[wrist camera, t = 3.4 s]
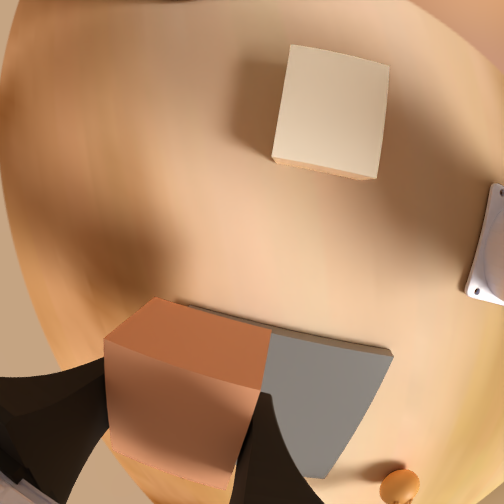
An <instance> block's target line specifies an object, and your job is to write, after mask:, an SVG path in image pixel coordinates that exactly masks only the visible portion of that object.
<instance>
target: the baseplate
mask: <svg viewBox="0 0 504 504" xmlns="http://www.w3.org/2000/svg"><path fill="white" fill-rule="evenodd" d="M188 307H190V308H193V309H197V310H200V311H204V312H207V313H210V314H214V315H218V316H221V317H225V318H228V319H232V320H236V321H239V322H243V323H247V324H251V325H255V326H259V327H263V328H267V329H271V330H272V331H271V337H270V342H269V348H268V353H267V359H266V364H265V370H264V375H263V380H262V386H261V391H260V392H265V393H269V394H271V396H272V399H273V406H274V411H275V415H276V418H277V422H278V425H279V428H280V431H281V434H282V437H283V439H284V442H285V444H286V446H287V449H288V451H289V453H290V455H291V457H292V459H293V461H294V463H295V465H296V466H297V468H298V470H299V471H300V473H301V474H302V476H303V477H310V478H320V479H325V477H326V476H327V474H328V473H329V471H330V470H331V469H332V467H333V466H334V464H335V463H336V461H337V460H338V458H339V457H340V455H341V453H342V452H343V450H344V449H345V447H346V446H347V444H348V442H349V441H350V439H351V437H352V436H353V434H354V432H355V431H356V429H357V427H358V426H359V424H360V422H361V420H362V419H363V417H364V415H365V413H366V412H367V410H368V408H369V406H370V404H371V402H372V400H373V399H374V397H375V395H376V393H377V391H378V389H379V387H380V385H381V383H382V381H383V379H384V377H385V375H386V373H387V371H388V368H389V366H390V364H391V362H392V360H393V358H394V356H393V354H392V353H391V351H390V350H389V349H383V348H377V347H371V346H366V345H360V344H355V343H349V342H344V341H339V340H334V339H329V338H324V337H319V336H314V335H310V334H305V333H300V332H296V331H291V330H287V329H283V328H278V327H274V326H270V325H265V324H261V323H257V322H253V321H249V320H245V319H241V318H237V317H233V316H229V315H226V314H222V313H218V312H214V311H211V310H207V309H203V308H200V307H196V306H192V305H188ZM235 465H237V461H236V464H235Z"/></svg>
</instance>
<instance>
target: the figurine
mask: <svg viewBox="0 0 504 504" xmlns="http://www.w3.org/2000/svg"><path fill="white" fill-rule="evenodd" d="M419 486H420V482H419V478H418V476H417V475H416V474H415V473H414V472H412V471H410V470H405V469H403V470H397V471H394V472H392V473H390V474H389V475H388V476H387V477H386V478H385V479H384V480H383V482H382V483H381V486H380V496H381V498H382V500H383V501H384V502H385V503H387V504H411V502H412V500H413V498H414V497H415V495H416V494H417V492H418V490H419Z"/></svg>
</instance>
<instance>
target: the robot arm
mask: <svg viewBox="0 0 504 504" xmlns="http://www.w3.org/2000/svg"><path fill="white" fill-rule="evenodd" d="M500 190H501V191H502V195H500ZM476 289H477V292H476V293H475V294H474V292H475V290H476ZM465 294H466V295H467V296H468V297H471V298H475V299H479V300H483V301H487V302H491V303H495V304H499V305H503V306H504V186H503V185H501V184H499V183H493V184H492V185H491V187H490V192H489V198H488V203H487V208H486V213H485V218H484V222H483V227H482V231H481V235H480V239H479V243H478V247H477V250H476V254H475V257H474V261H473V264H472V268H471V271H470V274H469V277H468V280H467V283H466V286H465ZM108 428H109V420H108V410H107V399H106V386H105V369H104V357H103V358H100V359H98V360H95V361H93V362H90V363H87V364H84V365H81V366H78V367H75V368H72V369H69V370H66V371H62V372H58V373H53V374H48V375H41V376H32V377H17V378H16V377H13V378H12V377H10V378H9V377H0V504H66V502H67V500H68V497H69V495H70V493H71V490H72V488H73V486H74V484H75V482H76V480H77V478H78V476H79V474H80V472H81V470H82V468H83V466H84V464H85V463H86V461H87V459H88V457H89V456H90V454H91V452H92V450H93V449H94V447H95V446H96V444H97V443H98V441H99V440H100V438H101V437H102V436H103V435H104V433H105V432H106V431H107V430H108ZM229 504H324V503H323V501H322V500H321V499H320V498H319V497H318V496H317V495H316V493H315V492H314V491H313V490H312V488H311V487H310V486H309V484H308V483H307V482H306V480H305V479H304V477H303V476H302V474H301V473H300V471H299V470H298V468H297V466H296V465H295V463H294V461H293V459H292V457H291V455H290V453H289V451H288V449H287V446H286V444H285V442H284V439H283V437H282V434H281V431H280V428H279V425H278V422H277V418H276V415H275V411H274V406H273V399H272V396H271V394H269V393H265V392H260V394H259V397H258V400H257V403H256V406H255V409H254V412H253V415H252V418H251V421H250V424H249V427H248V430H247V433H246V435H245V438H244V441H243V444H242V447H241V450H240V453H239V455H238V458H237V465H236V472H235V479H234V486H233V491H232V495H231V499H230V503H229Z"/></svg>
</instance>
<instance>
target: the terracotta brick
mask: <svg viewBox="0 0 504 504" xmlns="http://www.w3.org/2000/svg"><path fill="white" fill-rule="evenodd" d="M271 331H272V330H271V329H267V328H263V327H259V326H255V325H251V324H247V323H243V322H239V321H236V320H232V319H228V318H225V317H221V316H218V315H214V314H210V313H207V312H204V311H200V310H197V309H193V308H190V307H187V306H183V305H180V304H177V303H173V302H170V301H167V300H164V299H161V298H157V297H154V298H153V299H151V300H150V301H149V302H148V303H146V304H145V305H144V306H143V307H141V308H140V309H139V310H138V311H137V312H135V313H134V314H133V315H132V316H130V317H129V318H128V319H127V320H125V321H124V322H123V323H122V324H121V325H119V326H118V327H117V328H116V329H115V330H113V331H112V332H111V333H110V334H108V335H107V336H106V337H105V338H104V369H105V386H106V399H107V410H108V420H109V428H110V436H111V443H112V450H113V451H116V452H118V453H120V454H122V455H124V456H127V457H129V458H131V459H133V460H136V461H138V462H140V463H143V464H145V465H148V466H150V467H153V468H156V469H158V470H161V471H164V472H166V473H169V474H172V475H175V476H178V477H181V478H184V479H187V480H190V481H193V482H197V483H200V484H203V485H207V486H210V487H214V488H218V489H222V490H226V488H227V485H228V483H229V480H230V477H231V475H232V472H233V469H234V466H235V464H236V461H237V458H238V455H239V453H240V450H241V447H242V444H243V441H244V438H245V435H246V433H247V430H248V427H249V424H250V421H251V418H252V415H253V412H254V409H255V406H256V403H257V400H258V397H259V394H260V391H261V386H262V380H263V375H264V370H265V364H266V359H267V353H268V348H269V342H270V337H271Z"/></svg>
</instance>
